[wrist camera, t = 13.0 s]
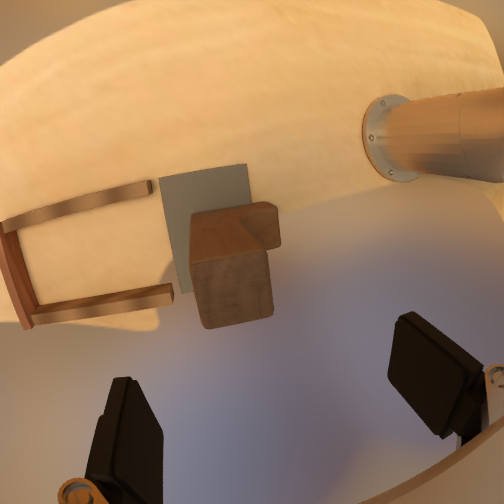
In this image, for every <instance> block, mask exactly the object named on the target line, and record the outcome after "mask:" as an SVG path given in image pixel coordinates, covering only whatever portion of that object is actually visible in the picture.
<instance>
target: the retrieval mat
mask: <svg viewBox="0 0 504 504" xmlns="http://www.w3.org/2000/svg"><path fill="white" fill-rule="evenodd" d="M159 184H160V190H161V196H162V202H163V207H164V213H165V218H166V223H167V228H168V233H169V238H170V243H171V248H172V253H173V257H174V262H175V266H176V270H177V275H178V280H179V284H180V288H181V292H182V294H183V293H188V292H194V289H193V284H192V280H191V275H190V270H189V242H190V217H191V215H192V214H194V213H199V212H205V211H211V210H216V209H222V208H228V207H234V206H240V205H246V204H252V201H251V194H250V186H249V179H248V171H247V164H239V165H232V166H225V167H218V168H212V169H206V170H200V171H194V172H189V173H183V174H178V175H172V176H167V177H162V178H159Z"/></svg>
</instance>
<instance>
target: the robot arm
mask: <svg viewBox="0 0 504 504" xmlns="http://www.w3.org/2000/svg"><path fill="white" fill-rule="evenodd" d="M362 132H363V142H364V146H365V150H366V152H367V155H368V158H369V159H370V161H371V163H372V165H373V166H374V167H375V168H376V170H377V171H378V172H379V173H380V174H382V175H383V176H384V177H386V178H388V179H389V180H392V181H396V182H410V181H412V180H415V179H416V178H418V177H419V176H420V175H421V174H422V173H426V174H435V175H444V176H452V177H459V178H466V179H473V180H479V181H485V182H491V183H504V87H503V88H496V89H489V90H480V91H472V92H464V93H457V94H450V95H444V96H438V97H432V98H426V99H421V100H416V101H410V100H409V99H407V98H405V97H403V96H399V95H387V96H383V97H381V98H378V99H377V100H375V101H374V102H373V103H372V104H371V105H370V107H369V108H368V110H367V112H366V114H365V117H364V121H363V130H362ZM483 367H484V365H483V364H481V363H480V362H479V361H478V360H476V359H475V358H474V357H472V356H471V355H470V354H469V353H468V352H466V351H465V350H464V349H463V348H461V347H460V346H459V345H457V344H456V343H455V342H454V341H452V340H451V339H450V338H448V337H447V336H446V335H444V334H443V333H442V332H441V331H439V330H438V329H437V328H435V327H434V326H433V325H431V324H430V323H429V322H427V321H426V320H425V319H424V318H422V317H421V316H420V315H418V314H417V313H415V312H413V311H412V312H409V313H406V314H403V315H401V316H399V318H398V321H396V323H395V329H394V337H393V344H392V350H391V356H390V363H389V368H388V379H389V381H390V382H391V384H392V385H393V386H394V387H395V388H396V389H397V391H398V392H399V393H400V394H401V395H402V397H403V398H404V399H405V400H406V401H407V403H408V404H409V405H410V406H411V407H412V408H413V410H414V411H415V412H416V413H417V414H418V416H419V417H420V418H421V419H422V420H423V421H424V423H425V424H426V425H427V426H428V427H429V429H430V430H431V431H432V432H433V433H434V434H435V435H439V436H440V438H441V439H444V438H446V437H448V436H449V435H451V434H452V433H453V432H455V433H456V434H457V442H456V451H455V452H453V453H452V454H450V455H449V456H447V457H446V458H444V459H443V460H441V461H440V462H438V463H437V464H435V465H434V466H432V467H430V468H428V469H427V470H425V471H423V472H422V473H420V474H418V475H416V476H415V477H413V478H411V479H409V480H407V481H405V482H404V483H402V484H400V485H398V486H396V487H394V488H392V489H390V490H388V491H386V492H384V493H381V494H379V495H377V496H375V497H373V498H370V499H368V500H366V501H364V502H361V503H359V504H504V364H494V365H491V366H489V367H488V368H487V370H486V372H483V371H482V370H483ZM163 440H164V437H163V431H162V428H161V427H160V425H159V423H158V421H157V419H156V417H155V415H154V413H153V412H152V410H151V408H150V406H149V404H148V402H147V400H146V398H145V396H144V394H143V391H142V389H141V387H140V385H139V383H138V381H137V380H132V378H131V377H117V378H114V379H113V382H112V385H111V389H110V392H109V395H108V399H107V403H106V406H105V410H104V414H103V415H101V416H100V417H99V419H98V422H97V426H96V430H95V434H94V438H93V442H92V446H91V450H90V454H89V459H88V463H87V468H86V473H85V478H73V479H70V480H68V481H66V482H65V483H64V484H63V485H62V486H61V488H60V489H59V492H58V502H59V504H163V442H164V441H163Z"/></svg>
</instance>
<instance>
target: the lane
mask: <svg viewBox="0 0 504 504" xmlns="http://www.w3.org/2000/svg"><path fill="white" fill-rule="evenodd" d="M151 193H153V192H152V187H151V181H150V180H148V181H143V182H138V183H134V184H129V185H125V186H121V187H117V188H112V189H108V190H104V191H100V192H96V193H93V194H89V195H85V196H81V197H78V198H74V199H70V200H67V201H63V202H60V203H57V204H53V205H50V206H47V207H44V208H40V209H37V210H34V211H31V212H28V213H25V214H22V215H19V216H16V217H13V218H10V219H7V220H5V221H2V222H0V268H1V271H2V274H3V278H4V281H5V284H6V286H7V289H8V292H9V295H10V298H11V300H12V303H13V306H14V308H15V311H16V313H17V316H18V318H19V320H20V323H21V325H22V327H23V329H24V330H28V329H32V328H33V327H34V325H42V324H50V323H57V322H65V321H72V320H79V319H86V318H93V317H99V316H106V315H112V314H119V313H125V312H131V311H137V310H143V309H149V308H155V307H161V306H166V305H172V304H173V299H174V291H173V288H172V283H167V284H162V285H156V286H151V287H145V288H139V289H134V290H128V291H123V292H117V293H111V294H105V295H100V296H94V297H88V298H82V299H76V300H70V301H64V302H58V303H52V304H46V305H40V306H39V304H38V301H37V299H36V296H35V293H34V290H33V288H32V285H31V282H30V279H29V276H28V272H27V269H26V266H25V263H24V259H23V256H22V252H21V248H20V245H19V241H18V237H17V233H16V230H17V229H20V228H23V227H26V226H30V225H33V224H36V223H39V222H43V221H46V220H50V219H53V218H57V217H60V216H64V215H68V214H71V213H75V212H79V211H83V210H87V209H91V208H95V207H99V206H103V205H107V204H111V203H115V202H120V201H124V200H128V199H133V198H137V197H142V196H147V195H150V194H151Z"/></svg>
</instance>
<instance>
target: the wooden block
mask: <svg viewBox="0 0 504 504" xmlns="http://www.w3.org/2000/svg"><path fill="white" fill-rule="evenodd" d="M280 246H281V239H280V228H279V220H278V210H277V207H276V206H274V205H272V204H270V203H268V202H259V203H252V204H246V205H240V206H234V207H228V208H222V209H216V210H211V211H205V212H199V213H194V214H192V215H191V217H190V242H189V270H190V275H191V280H192V284H193V289H194V293H195V298H196V302H197V306H198V310H199V314H200V319H201V323H202V325H203V326H204V327H205V329H214V328H219V327H224V326H229V325H234V324H239V323H244V322H248V321H253V320H258V319H263V318H267V317H270V316H272V315H273V311H274V306H273V297H272V289H271V280H270V272H269V263H268V255H267V252H266V250H270V249H274V248H278V247H280Z"/></svg>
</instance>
